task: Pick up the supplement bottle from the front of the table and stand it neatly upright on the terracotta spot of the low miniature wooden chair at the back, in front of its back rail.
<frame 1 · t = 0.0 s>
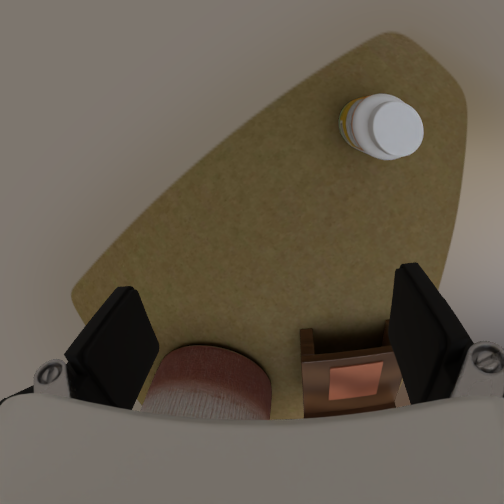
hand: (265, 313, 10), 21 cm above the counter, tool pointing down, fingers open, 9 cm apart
planter: (215, 380, 43), on the counter
supplement bottle: (363, 124, 26), on the counter
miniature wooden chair: (347, 356, 39), on the counter
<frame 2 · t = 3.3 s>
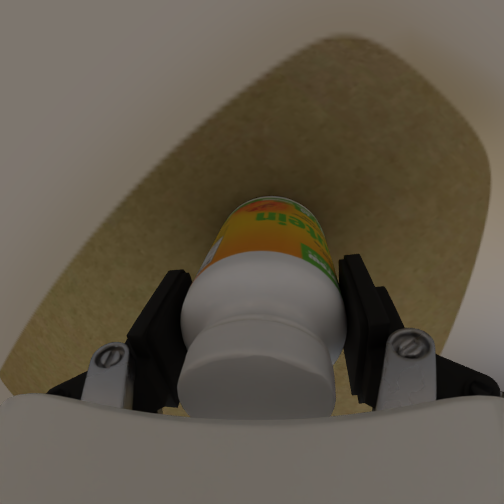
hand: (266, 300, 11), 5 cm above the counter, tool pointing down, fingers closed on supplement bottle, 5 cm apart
supplement bottle: (272, 243, 15), on the counter, touching gripper
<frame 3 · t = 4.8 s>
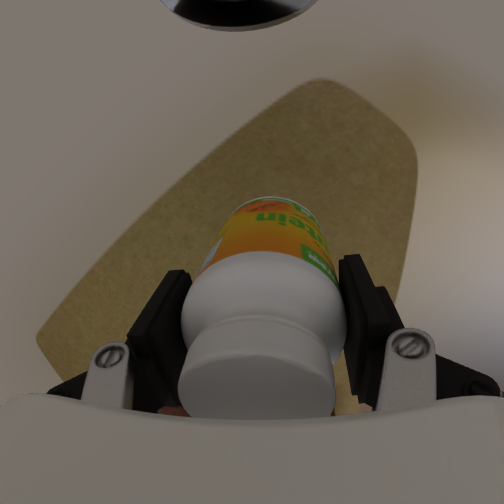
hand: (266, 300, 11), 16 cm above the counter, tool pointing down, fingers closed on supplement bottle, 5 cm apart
supplement bottle: (272, 243, 16), point 11 cm above the counter, touching gripper
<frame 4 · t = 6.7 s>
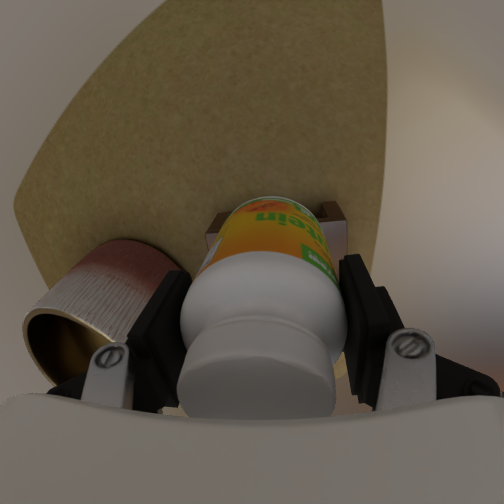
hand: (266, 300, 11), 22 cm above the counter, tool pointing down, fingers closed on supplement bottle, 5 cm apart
planter: (139, 294, 39), on the counter
supplement bottle: (272, 243, 15), point 17 cm above the counter, touching gripper
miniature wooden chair: (282, 256, 34), on the counter
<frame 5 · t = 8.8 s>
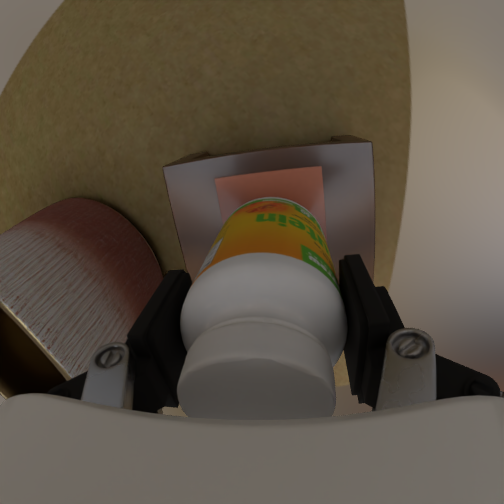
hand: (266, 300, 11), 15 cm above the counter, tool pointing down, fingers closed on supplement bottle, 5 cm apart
planter: (96, 272, 29), on the counter
supplement bottle: (272, 244, 15), point 10 cm above the counter, touching gripper
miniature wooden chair: (278, 214, 25), on the counter
when the fingers open (11 cm above the counter, at t = 10.1 s): supplement bottle stays where it is, resting on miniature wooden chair.
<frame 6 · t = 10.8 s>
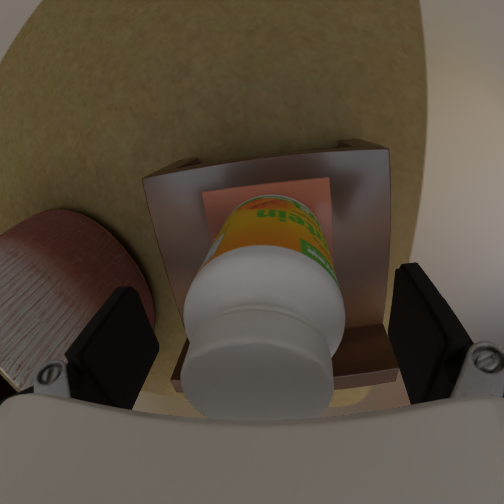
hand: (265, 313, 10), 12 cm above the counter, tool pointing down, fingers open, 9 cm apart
planter: (82, 287, 27), on the counter
supplement bottle: (272, 240, 16), point 6 cm above the counter, touching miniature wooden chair
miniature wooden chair: (277, 228, 22), on the counter
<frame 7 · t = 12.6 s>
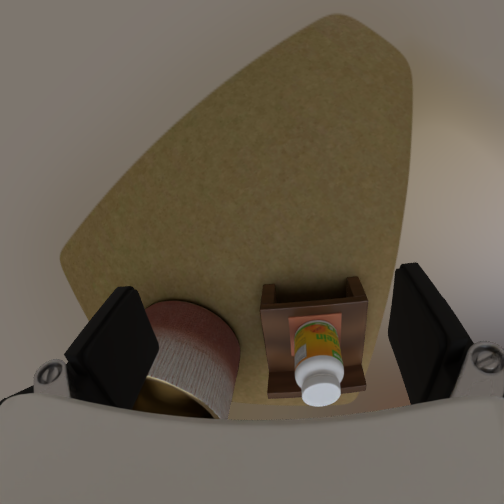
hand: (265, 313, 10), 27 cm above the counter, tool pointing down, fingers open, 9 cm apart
planter: (187, 341, 47), on the counter
supplement bottle: (315, 334, 36), point 6 cm above the counter, touching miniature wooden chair
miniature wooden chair: (312, 316, 42), on the counter
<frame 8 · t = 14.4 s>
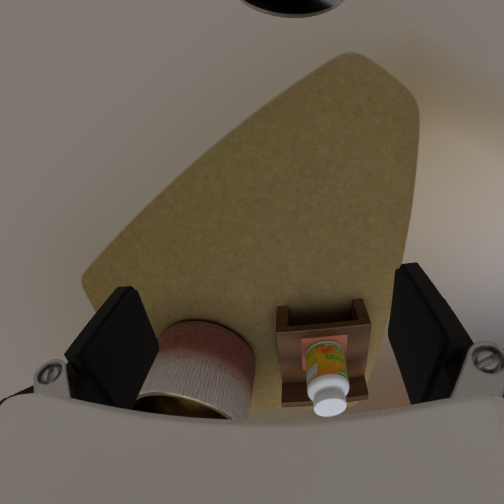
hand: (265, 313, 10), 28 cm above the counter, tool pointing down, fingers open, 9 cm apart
planter: (206, 355, 51), on the counter
supplement bottle: (324, 352, 40), point 6 cm above the counter, touching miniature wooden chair
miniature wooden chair: (320, 333, 46), on the counter
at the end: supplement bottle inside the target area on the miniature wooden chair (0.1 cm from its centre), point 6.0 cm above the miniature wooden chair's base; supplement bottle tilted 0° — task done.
